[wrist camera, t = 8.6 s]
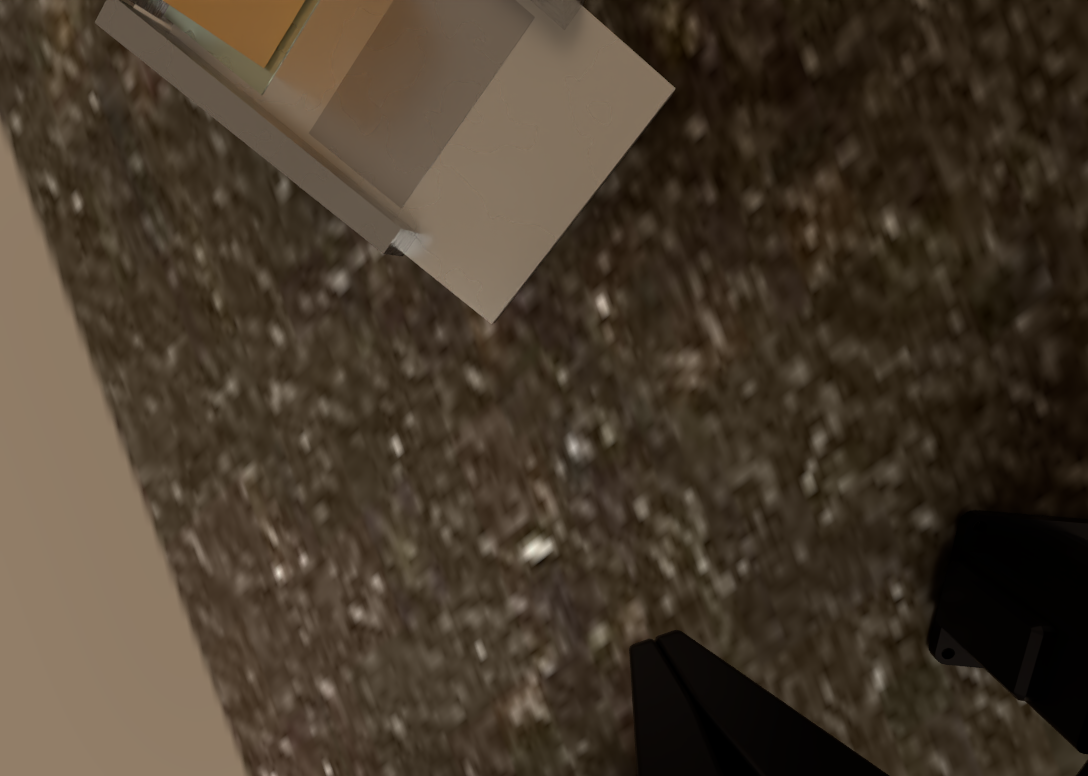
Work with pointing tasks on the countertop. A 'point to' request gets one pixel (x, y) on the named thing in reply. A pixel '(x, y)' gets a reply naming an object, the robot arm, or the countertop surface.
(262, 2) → the tan tall block
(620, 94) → the gray rectangular tray
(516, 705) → the countertop surface
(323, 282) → the countertop surface
